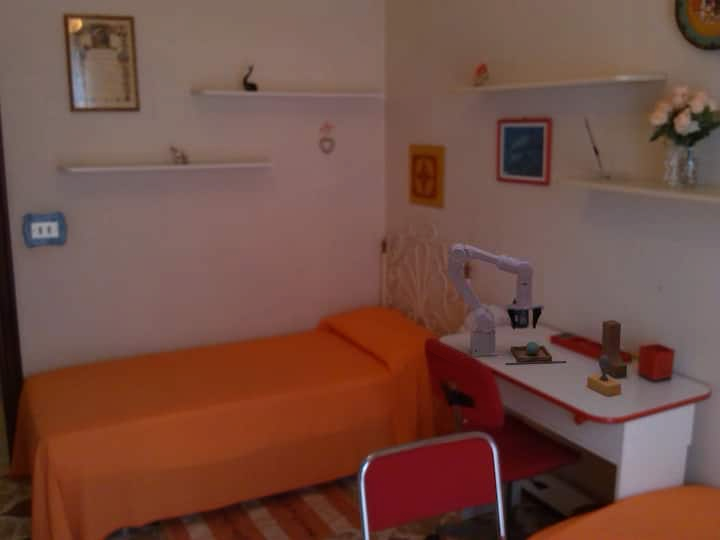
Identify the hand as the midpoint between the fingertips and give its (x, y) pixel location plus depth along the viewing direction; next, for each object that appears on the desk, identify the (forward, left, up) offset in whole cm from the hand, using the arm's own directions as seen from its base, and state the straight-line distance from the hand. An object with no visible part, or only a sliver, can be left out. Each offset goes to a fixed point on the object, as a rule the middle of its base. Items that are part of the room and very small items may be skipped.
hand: (523, 328), depth 267 cm
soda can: (+6, +34, -10) cm, 36 cm away
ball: (+2, -3, -7) cm, 8 cm away
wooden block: (+26, -24, -10) cm, 37 cm away
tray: (+2, -3, -10) cm, 11 cm away
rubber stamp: (+18, -38, -10) cm, 43 cm away
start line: (+2, -11, -10) cm, 15 cm away
